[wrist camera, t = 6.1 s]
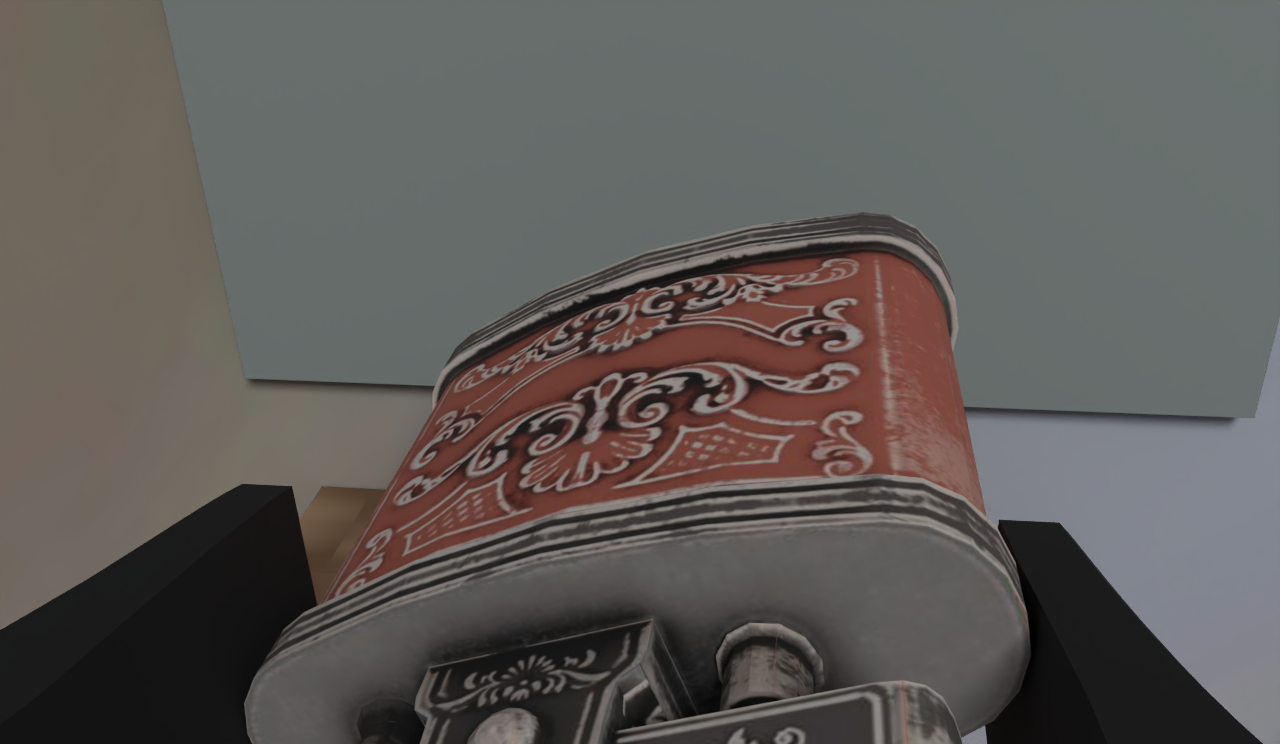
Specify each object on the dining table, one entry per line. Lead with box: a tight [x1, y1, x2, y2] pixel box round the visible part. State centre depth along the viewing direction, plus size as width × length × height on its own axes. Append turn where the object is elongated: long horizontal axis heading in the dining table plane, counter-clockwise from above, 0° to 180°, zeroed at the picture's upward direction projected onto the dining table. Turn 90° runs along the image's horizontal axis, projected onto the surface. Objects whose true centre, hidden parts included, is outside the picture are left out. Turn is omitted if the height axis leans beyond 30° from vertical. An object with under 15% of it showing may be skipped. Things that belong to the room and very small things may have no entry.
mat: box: [162, 0, 1280, 418], centre depth 21 cm, size 20×9×1 cm, turn 92°
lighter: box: [244, 212, 1031, 744], centre depth 13 cm, size 8×3×10 cm, turn 112°
